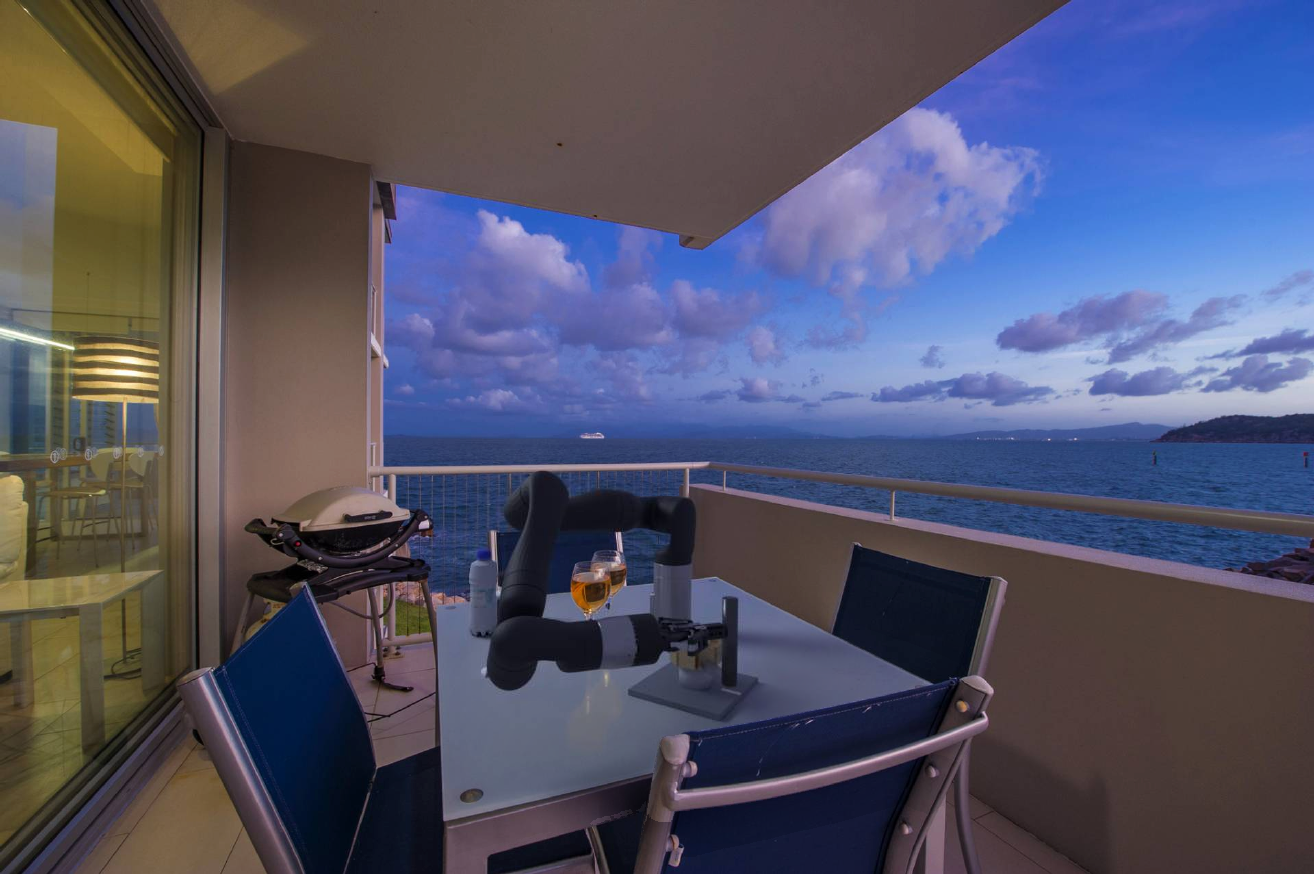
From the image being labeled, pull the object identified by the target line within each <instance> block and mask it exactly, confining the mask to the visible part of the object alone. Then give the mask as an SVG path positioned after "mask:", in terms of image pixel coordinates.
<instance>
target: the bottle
mask: <svg viewBox="0 0 1314 874" xmlns="http://www.w3.org/2000/svg"><path fill="white" fill-rule="evenodd" d="M469 570H470V571H469V574H468V578H469V581H468V583H469V584H470V591H469V596H470V597H469V612H468V613H469V615H468V631H469V633H470V634H471V635H474V636H475V637H478V635H479V633H480V634H481V637H484V636H485V635H486V632H487V635H492V634H493V632H494V630H495V627H496V591H497V584H498V574H499V571H498V562H497V561H495V560H493V559H492V552H491V550H490V549H486V548H482V549H478V551H476V560H475V561H473V562H471V564H470V569H469Z"/></svg>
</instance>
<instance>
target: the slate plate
mask: <svg viewBox="0 0 1314 874" xmlns="http://www.w3.org/2000/svg"><path fill="white" fill-rule="evenodd" d="M758 683H759V677H756V676H752V675H749V674H745V673H741V672H737V686H736V687H735V688H729V689H726V688H725V687H724V686H723V685H722V684H720V683H719V682H718V681H717V680H716V679H714V678H713V677H712V676H711V675H710V674H708V673H707V672H706V671H705V670H704V669H703V670H698V669H697V668H696V669H695V670H692V669H686V668H681V667H679V666H676V665H674V664H673V663H672V662H671V661H669V662H668V663H666V664H665V665H664V666H662V667H660V668H659V669H657V670H656V671H654V672H653V673H651V674H649V675H648V676H647V677H645V678H644V679H642V680H640V681H638V682H637V683H636V684H634V685H632V686H631V687H630V688H628V689H627V696H631V697H634V698H638V699H640V700H641V699H642V700H643V701H644V700H645V701H649V702H652V703H656V704H659V705H662V706H665V705H666V707H669V708H672V707H673V709H675V710H679V711H683V710H684V711H683V712H687V713H690V714H693V715H697V716H701V717H703V716H704V717H705V718H707V719H710V720H714V721H716V722H717V721H719V722H720V721H721V720H722V719H723V718H724V716H727V714H728V713H729V712H730V711H731V710H732V709H733V708H734V707H735V706H736V705H737V704H738V703H739V702H740V701H741V700H742V699H744V697H745V696H747V694H749V692H750V691H752V689H753V688H755V687H756V685H758Z"/></svg>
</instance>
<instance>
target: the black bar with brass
mask: <svg viewBox="0 0 1314 874" xmlns="http://www.w3.org/2000/svg"><path fill="white" fill-rule="evenodd" d="M721 600H722V603H721V604H722V605H721V609H722V610H721V611H722V613H721V617H722V618H721V623H722V624H724V625H725V626H726V637H725V638H723V639H715V640H708V647H707V648H705V649H704V650H702V651H701V652H700V653H698V654H697V655H696V656H693V657H690V656H688V655H687V650H679V652H675V653H669V662H672V663H673V664H674V665H676V666H679V667H681V668H686V669H692V670H695V669H696V668H697V669H698V670H703V669H704V670H705V671H706V672H707V673H708V674H710V675H711V676H712V677H713V678H714V679H716V680H717V681H718V682H719V683H720V684H722V685H723V686H724V687H725V688H726V689H729V688H735V687H736V686H737V673H738V660H739V659H738V656H739V655H738V654H739V653H738V649H739V647H738V643H739V640H738V639H739V638H738V637H739V598H738V597H737V596H732V595H730V596H729V595H726V596H723V597H722V599H721ZM720 664H721V666H720Z"/></svg>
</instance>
